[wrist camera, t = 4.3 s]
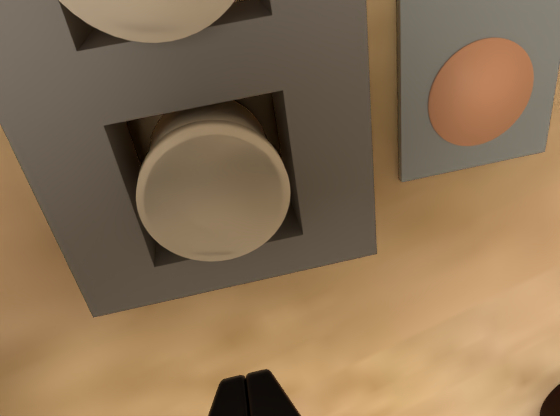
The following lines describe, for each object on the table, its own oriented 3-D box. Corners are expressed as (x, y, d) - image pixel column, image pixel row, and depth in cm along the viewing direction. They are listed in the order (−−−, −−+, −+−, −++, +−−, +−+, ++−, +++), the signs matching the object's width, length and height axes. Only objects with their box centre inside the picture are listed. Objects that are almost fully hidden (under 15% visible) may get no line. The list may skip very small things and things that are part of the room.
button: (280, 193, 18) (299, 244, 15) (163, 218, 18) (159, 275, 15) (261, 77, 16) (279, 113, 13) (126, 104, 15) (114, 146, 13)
